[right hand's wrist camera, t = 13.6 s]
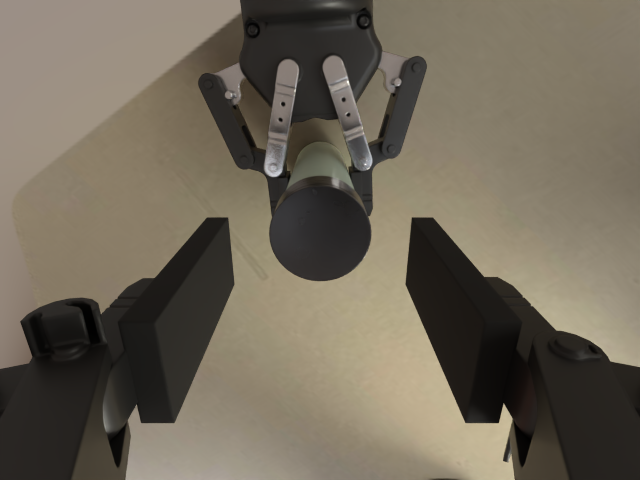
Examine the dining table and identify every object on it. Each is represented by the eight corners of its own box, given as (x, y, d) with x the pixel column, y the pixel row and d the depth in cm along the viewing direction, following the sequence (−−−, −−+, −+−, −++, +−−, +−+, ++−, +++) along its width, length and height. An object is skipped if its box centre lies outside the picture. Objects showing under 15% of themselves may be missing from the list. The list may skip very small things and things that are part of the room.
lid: (341, 275, 20) (343, 295, 18) (260, 241, 19) (254, 258, 17) (382, 199, 18) (389, 212, 16) (296, 159, 18) (293, 168, 16)
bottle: (331, 197, 33) (341, 286, 18) (288, 178, 32) (260, 252, 17) (352, 154, 32) (382, 210, 17) (308, 132, 31) (296, 171, 16)
